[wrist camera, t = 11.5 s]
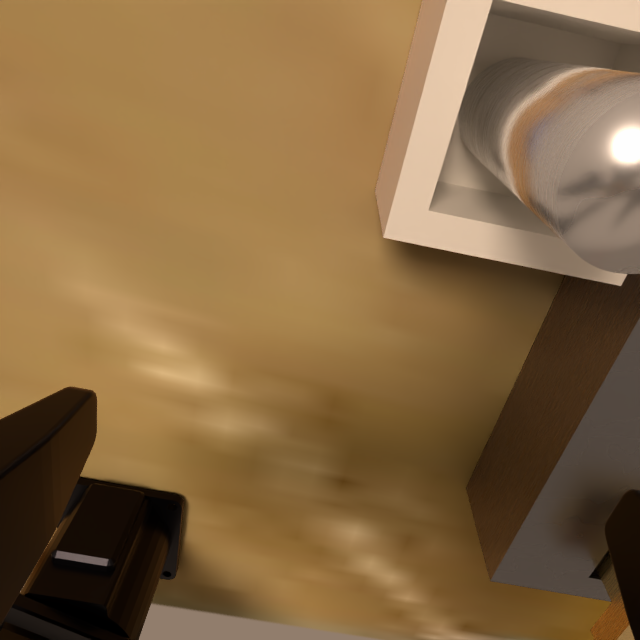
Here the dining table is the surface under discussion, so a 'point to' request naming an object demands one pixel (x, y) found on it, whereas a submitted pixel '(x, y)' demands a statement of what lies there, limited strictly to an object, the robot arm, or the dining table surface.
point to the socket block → (564, 444)
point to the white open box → (444, 136)
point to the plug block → (611, 607)
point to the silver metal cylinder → (564, 150)
